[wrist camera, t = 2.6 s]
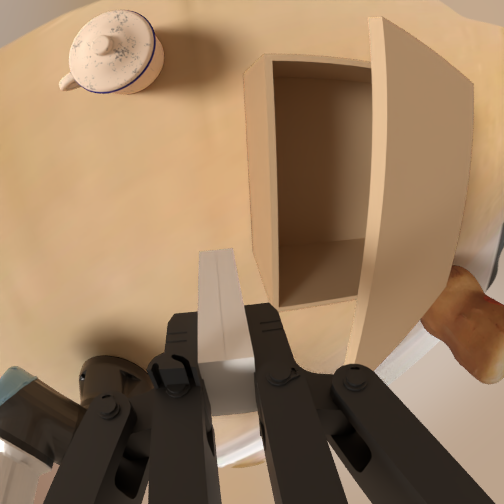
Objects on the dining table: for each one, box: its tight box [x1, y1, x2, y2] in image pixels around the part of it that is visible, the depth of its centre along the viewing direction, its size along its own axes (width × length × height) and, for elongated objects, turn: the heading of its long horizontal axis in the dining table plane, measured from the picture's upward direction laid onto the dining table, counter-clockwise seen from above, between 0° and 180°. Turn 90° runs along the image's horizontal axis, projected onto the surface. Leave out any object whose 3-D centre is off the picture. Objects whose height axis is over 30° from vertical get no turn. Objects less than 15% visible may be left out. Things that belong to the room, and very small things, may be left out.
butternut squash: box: [420, 265, 504, 384], centre depth 40 cm, size 14×13×25 cm
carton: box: [243, 54, 373, 312], centre depth 32 cm, size 24×22×14 cm
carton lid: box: [344, 17, 474, 371], centre depth 21 cm, size 25×22×1 cm
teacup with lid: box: [59, 10, 164, 94], centre depth 24 cm, size 12×9×12 cm
